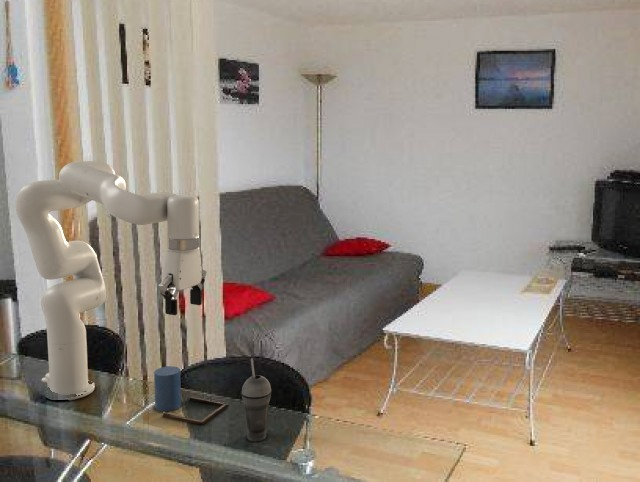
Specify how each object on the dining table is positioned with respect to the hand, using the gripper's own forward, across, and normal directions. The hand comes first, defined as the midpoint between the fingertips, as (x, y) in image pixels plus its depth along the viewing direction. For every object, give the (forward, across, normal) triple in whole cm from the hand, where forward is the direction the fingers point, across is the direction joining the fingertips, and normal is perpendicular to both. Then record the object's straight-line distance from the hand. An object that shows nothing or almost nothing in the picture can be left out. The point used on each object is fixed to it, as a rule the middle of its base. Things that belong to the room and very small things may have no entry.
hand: (184, 309), depth 156 cm
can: (+29, -2, -7) cm, 30 cm away
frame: (+29, -2, +2) cm, 29 cm away
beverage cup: (+28, +4, +24) cm, 37 cm away
